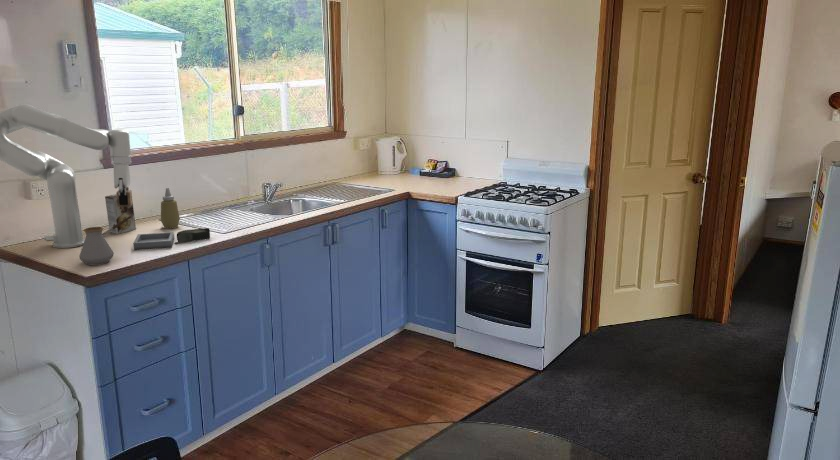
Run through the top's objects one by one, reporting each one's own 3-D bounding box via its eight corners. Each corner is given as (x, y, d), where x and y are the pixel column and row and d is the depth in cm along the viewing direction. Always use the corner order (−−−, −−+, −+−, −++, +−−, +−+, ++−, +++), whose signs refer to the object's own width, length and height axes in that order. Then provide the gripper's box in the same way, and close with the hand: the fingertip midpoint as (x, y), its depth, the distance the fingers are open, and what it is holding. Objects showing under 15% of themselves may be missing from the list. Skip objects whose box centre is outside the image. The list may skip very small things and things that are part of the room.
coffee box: (127, 227, 280) (123, 192, 276) (136, 229, 277) (132, 194, 272) (108, 231, 272) (104, 196, 268) (117, 234, 269) (113, 197, 265)
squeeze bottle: (160, 226, 283) (156, 187, 278) (179, 224, 286) (175, 186, 282) (162, 230, 276) (158, 190, 271) (181, 228, 279) (178, 189, 275)
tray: (134, 250, 245) (133, 243, 245) (138, 241, 258) (137, 234, 258) (171, 247, 249) (171, 240, 249) (174, 238, 262) (173, 231, 262)
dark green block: (207, 226, 264) (172, 231, 255) (210, 228, 262) (174, 232, 253) (208, 238, 265) (173, 243, 256) (211, 239, 263) (175, 244, 254)
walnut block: (117, 206, 256) (116, 192, 254) (119, 204, 260) (118, 190, 259) (130, 206, 257) (129, 192, 256) (132, 203, 262) (131, 190, 260)
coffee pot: (90, 269, 223) (85, 228, 219) (74, 263, 229) (68, 224, 225) (145, 255, 240) (141, 217, 236) (128, 249, 246) (124, 213, 242)
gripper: (114, 157, 261) (118, 199, 265) (107, 163, 245) (111, 207, 250) (133, 157, 263) (137, 199, 268) (128, 162, 247) (131, 207, 252)
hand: (124, 202), depth 259 cm, fingers closed on walnut block, 5 cm apart
